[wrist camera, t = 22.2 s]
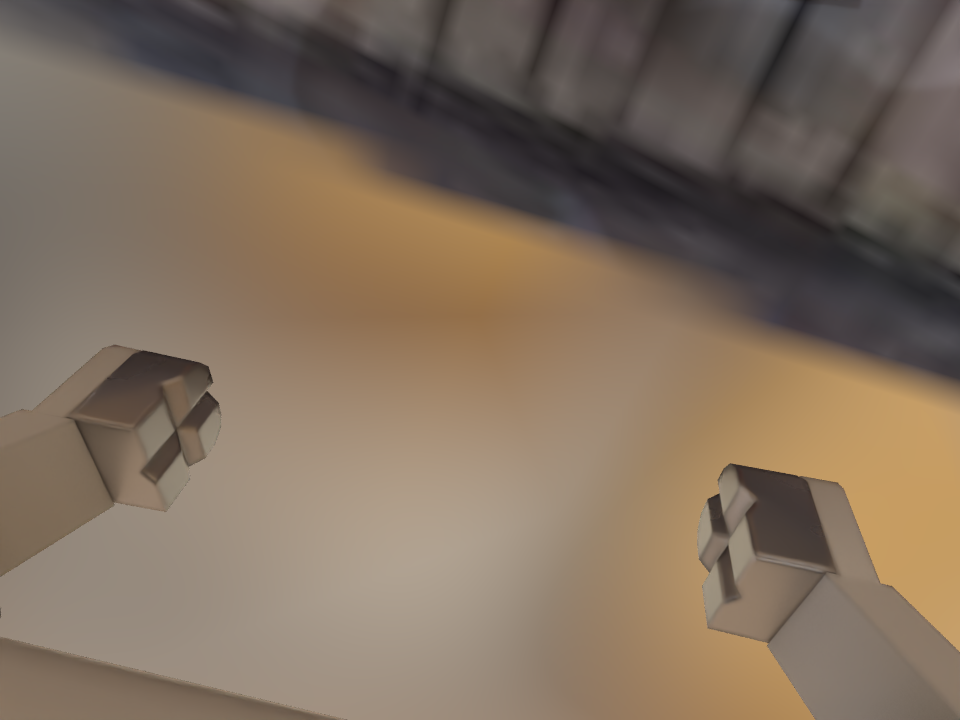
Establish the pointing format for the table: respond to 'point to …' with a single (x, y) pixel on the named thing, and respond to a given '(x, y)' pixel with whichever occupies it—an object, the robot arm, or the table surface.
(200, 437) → the robot arm
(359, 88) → the table surface
